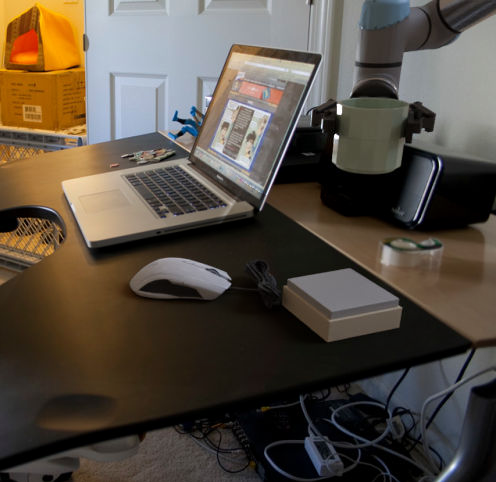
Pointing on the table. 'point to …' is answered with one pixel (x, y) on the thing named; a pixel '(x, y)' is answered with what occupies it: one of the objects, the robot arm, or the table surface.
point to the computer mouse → (199, 280)
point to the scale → (341, 304)
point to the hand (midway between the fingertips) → (369, 131)
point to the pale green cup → (369, 135)
